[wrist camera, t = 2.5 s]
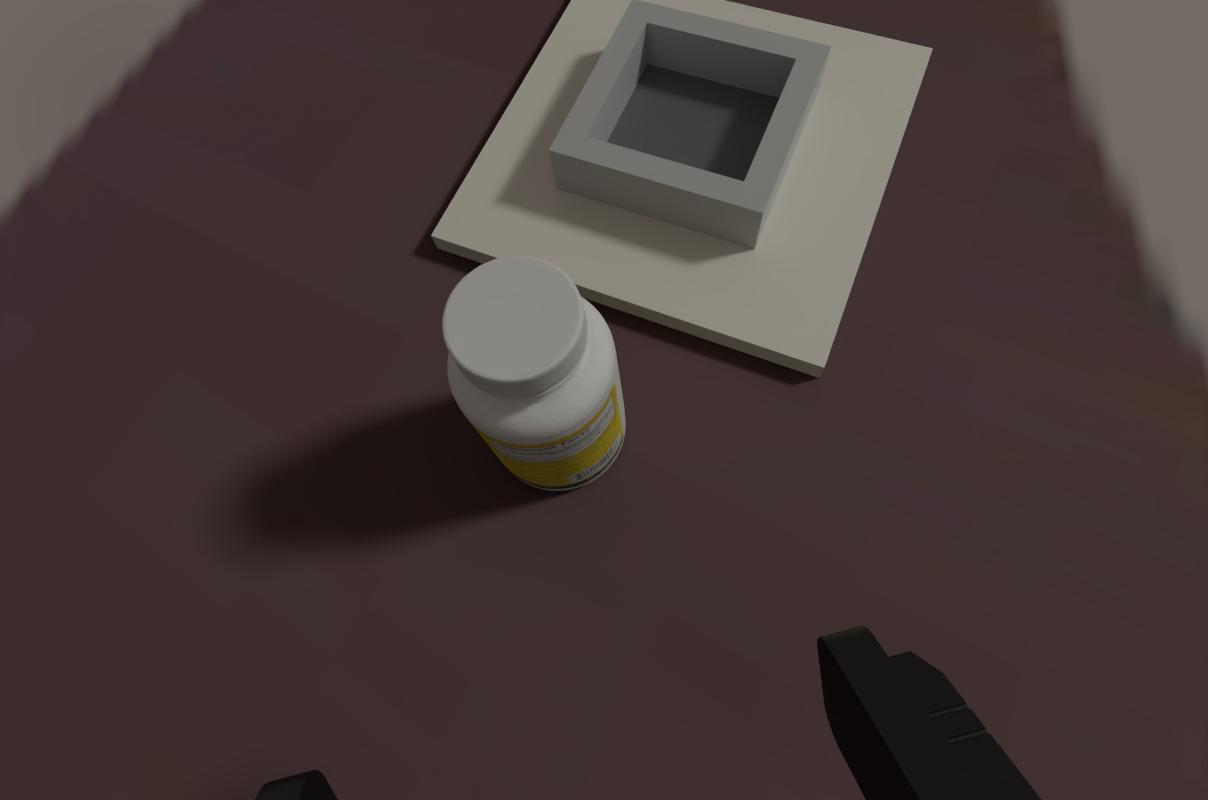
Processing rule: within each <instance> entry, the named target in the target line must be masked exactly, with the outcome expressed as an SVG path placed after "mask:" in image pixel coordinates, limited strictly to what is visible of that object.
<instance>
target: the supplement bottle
mask: <svg viewBox="0 0 1208 800" xmlns="http://www.w3.org/2000/svg"><path fill="white" fill-rule="evenodd" d="M442 331H443V337H444V341H445V344H446V347H447V349H448V351H449V355H448V363H447V371H448V380H449V385H450V388H451V391H452V394H453V396H454V398H455V401H456V402H457V404H458V406H459V408H460V409H461V411H462V412H463V414H464V415H465V416H466V418H467V419H468V420H469V422H470V423H471V424H472V425H473V427H474V428H475V429H476V430H477V432H478V433H479V434H480V435H481V437H482V438H483V439H484V441H485V442H486V443H487V444H488V446H489V447H490V448H491V449H492V450H493V452H494V453H495V454H496V456H497V457H498V458H499V460H500V461H501V462H502V463H503V464H504V465H505V466H506V468H507V469H508V470H509V471H510V472H511V473H512V474H513V475H515V476H516V477H517V478H518V479H520V480H521V481H523V482H525V483H527V484H529V485H531V486H533V487H536V488H540V489H544V490H551V491H564V490H571V489H575V488H579V487H581V486H584V485H586V484H588V483H590V482H592V481H594V480H595V479H597V478H598V477H599V476H601V475H602V474H603V473H604V472H605V471H606V470H607V469H608V468H609V467H610V466H611V465H612V463H613V462H614V460H615V459H616V457H617V456H618V454H619V452H620V450H621V447H622V444H623V440H624V436H625V427H626V422H625V410H624V403H623V396H622V389H621V382H620V376H619V369H618V363H617V356H616V350H615V345H614V341H613V338H612V335H611V332H610V330H609V327H608V325H607V323H606V322H605V320H604V318H603V317H602V315H601V314H600V313H599V312H598V310H597V309H596V308H595V307H594V306H593V305H592V304H591V303H589V302H588V301H587V300H586V299H584V298H583V297H581V296H580V293H579V291H578V289H577V287H576V286H575V284H574V283H573V281H572V280H571V279H570V277H569V276H568V275H567V274H566V273H565V272H563V271H562V270H561V269H560V268H559V267H557V266H555V265H554V264H552V263H550V262H548V261H545V260H542V259H539V258H535V257H531V256H507V257H501V258H497V259H494V260H491V261H489V262H486V263H484V264H482V265H480V266H478V267H477V268H475V269H474V270H472V271H471V272H470V273H468V274H467V275H466V276H465V277H464V278H463V279H462V280H461V281H460V282H459V283H458V284H457V285H456V287H455V288H454V290H453V291H452V293H451V294H450V296H449V298H448V300H447V303H446V306H445V309H444V314H443V320H442Z"/></svg>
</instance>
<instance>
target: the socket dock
mask: <svg viewBox="0 0 1208 800" xmlns="http://www.w3.org/2000/svg"><path fill="white" fill-rule="evenodd" d="M932 49H933V48H928V47H924V46H920V45H915V44H911V43H907V42H902V41H898V40H894V39H889V38H885V37H881V36H876V35H872V34H868V33H863V32H859V31H855V30H850V29H846V28H842V27H837V26H833V25H829V24H824V23H820V22H816V21H811V20H807V19H803V18H798V17H794V16H790V15H785V14H781V13H777V12H772V11H768V10H764V9H759V8H755V7H751V6H746V5H742V4H738V3H733V2H729V1H725V0H571V2H570V3H569V5H568V7H567V8H566V10H565V12H564V13H563V15H562V17H561V18H560V20H559V22H558V23H557V25H556V27H555V28H554V30H553V32H552V33H551V35H550V37H549V38H548V40H547V42H546V44H545V45H544V47H543V49H542V50H541V52H540V54H539V55H538V57H537V59H536V60H535V62H534V64H533V65H532V67H531V69H530V70H529V72H528V74H527V75H526V77H525V79H524V80H523V82H522V84H521V85H520V87H519V89H518V90H517V92H516V94H515V96H514V97H513V99H512V101H511V102H510V104H509V106H508V107H507V109H506V111H505V112H504V114H503V116H502V117H501V119H500V121H499V122H498V124H497V126H496V127H495V129H494V131H493V132H492V134H491V136H490V137H489V139H488V141H487V142H486V144H485V146H484V147H483V149H482V151H481V153H480V154H479V156H478V158H477V159H476V161H475V163H474V164H473V166H472V168H471V169H470V171H469V173H468V174H467V176H466V178H465V179H464V181H463V183H462V184H461V186H460V188H459V189H458V191H457V193H456V194H455V196H454V198H453V199H452V201H451V203H450V205H449V206H448V208H447V210H446V211H445V213H444V215H443V216H442V218H441V220H440V221H439V223H438V225H437V226H436V228H435V230H434V231H433V233H432V235H431V237H432V239H433V241H434V243H435V244H436V246H437V248H438V249H441V250H444V251H447V252H450V253H453V254H455V255H458V256H461V257H464V258H467V259H470V260H473V261H476V262H479V263H482V264H484V263H486V262H489V261H491V260H494V259H497V258H501V257H507V256H531V257H535V258H539V259H542V260H545V261H548V262H550V263H552V264H554V265H555V266H557V267H559V268H560V269H561V270H562V271H563V272H565V273H566V274H567V275H568V276H569V277H570V279H571V280H572V281H573V283H574V284H575V286H576V287H577V289H578V291H579V293H580V296H581V297H583V298H585V299H588V300H591V301H594V302H597V303H600V304H603V305H606V306H608V307H611V308H614V309H617V310H620V311H623V312H626V313H629V314H632V315H635V316H638V317H641V318H644V319H647V320H650V321H653V322H656V323H658V324H661V325H664V326H667V327H670V328H673V329H676V330H679V331H682V332H685V333H688V334H691V335H694V336H697V337H700V338H703V339H706V340H709V341H711V342H714V343H717V344H720V345H723V346H726V347H729V348H732V349H735V350H738V351H741V352H744V353H747V354H750V355H753V356H756V357H759V358H761V359H764V360H767V361H770V362H773V363H776V364H779V365H782V366H785V367H788V368H791V369H794V370H797V371H800V372H803V373H806V374H809V375H811V376H814V377H817V378H819V376H820V375H821V373H822V371H823V369H824V367H825V364H826V361H827V359H828V356H829V353H830V350H831V347H832V344H833V341H834V338H835V335H836V332H837V329H838V326H839V323H840V320H841V317H842V314H843V311H844V308H845V305H846V303H847V300H848V297H849V294H850V291H851V288H852V285H853V282H854V279H855V276H856V273H857V270H858V267H859V264H860V261H861V258H862V255H863V252H864V249H865V247H866V244H867V241H868V238H869V235H870V232H871V229H872V226H873V223H874V220H875V217H876V214H877V211H878V208H879V205H880V202H881V199H882V196H883V194H884V191H885V188H886V185H887V182H888V179H889V176H890V173H891V170H892V167H893V164H894V161H895V158H896V155H897V152H898V149H899V146H900V143H901V140H902V138H903V135H904V132H905V129H906V126H907V123H908V120H909V117H910V114H911V111H912V108H913V105H914V102H915V99H916V96H917V93H918V90H919V87H920V84H921V82H922V79H923V76H924V73H925V70H926V67H927V64H928V61H929V58H930V55H931V52H932Z"/></svg>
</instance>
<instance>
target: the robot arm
mask: <svg viewBox="0 0 1208 800" xmlns="http://www.w3.org/2000/svg"><path fill="white" fill-rule="evenodd" d="M817 648H818V656H819V664H820V672H821V680H822V688H823V696H824V704H825V710H826V714H827V718H828V721H829V724H830V727H831V730H832V733H833V735H834V738H835V740H836V742H837V745H838V747H839V749H840V751H841V753H842V755H843V756H844V758H845V760H846V762H847V764H848V766H849V768H850V770H851V772H852V774H853V776H854V778H855V780H856V782H857V783H858V785H859V787H860V789H861V791H862V793H863V795H864V797H865V799H866V800H1041V798H1040V797H1039V796H1038V795H1037V793H1036V792H1035V791H1034V789H1033V788H1032V787H1031V786H1030V784H1029V783H1028V782H1027V780H1026V779H1025V778H1024V777H1023V775H1022V774H1021V773H1020V771H1019V770H1018V769H1017V768H1016V766H1015V765H1014V764H1013V762H1012V761H1011V760H1010V759H1009V757H1008V756H1007V755H1006V753H1005V752H1004V751H1003V750H1002V748H1001V747H1000V746H999V744H998V743H997V742H996V741H995V739H994V738H993V737H992V735H991V734H988V733H987V731H986V729H985V726H984V725H983V724H982V723H981V721H980V720H979V719H978V717H977V716H976V715H975V714H974V712H973V711H972V710H971V709H968V707H967V705H966V702H965V701H964V699H963V698H962V697H961V696H960V694H959V693H958V692H957V690H956V689H955V688H954V687H953V685H952V684H951V683H950V681H949V680H948V679H947V678H946V676H945V675H944V674H943V673H942V672H941V671H939V670H938V669H936V668H935V667H933V666H932V665H930V664H929V663H927V662H926V661H924V660H923V659H921V658H920V657H918V656H917V655H915V654H914V653H912V652H911V651H909V652H905V653H901V654H898V655H894V656H890V657H888V656H887V654H886V653H885V651H884V650H883V648H882V647H881V646H880V644H879V643H878V641H877V640H876V638H875V637H874V636H873V634H872V633H871V632H870V630H869V629H868V628H866V627H865V626H860V627H856V628H852V629H848V630H845V631H841V632H837V633H833V634H830V635H826V636H822V637H819V638H818V639H817ZM255 800H338V799H337V798H336V796H335V794H334V792H333V791H332V789H331V787H330V785H329V783H328V782H327V780H326V778H325V776H324V775H323V774H322V773H321V772H320V771H318V770H312V771H308V772H304V773H301V774H297V775H293V776H289V777H286V778H282V779H278V780H274V781H271V782H267V783H266V784H264V785H263V786H262V788H261V789H260V791H259V792H258V795H257V797H256V799H255Z"/></svg>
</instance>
